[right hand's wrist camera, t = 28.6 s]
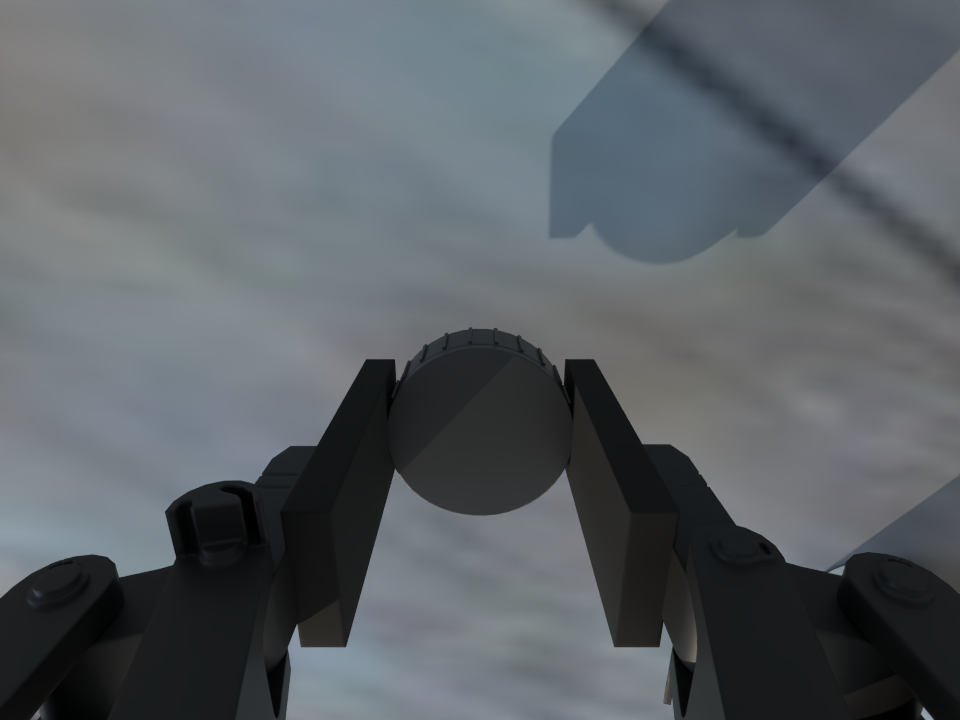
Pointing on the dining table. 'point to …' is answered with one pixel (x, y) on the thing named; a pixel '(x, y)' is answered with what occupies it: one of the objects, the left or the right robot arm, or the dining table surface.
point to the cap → (480, 423)
